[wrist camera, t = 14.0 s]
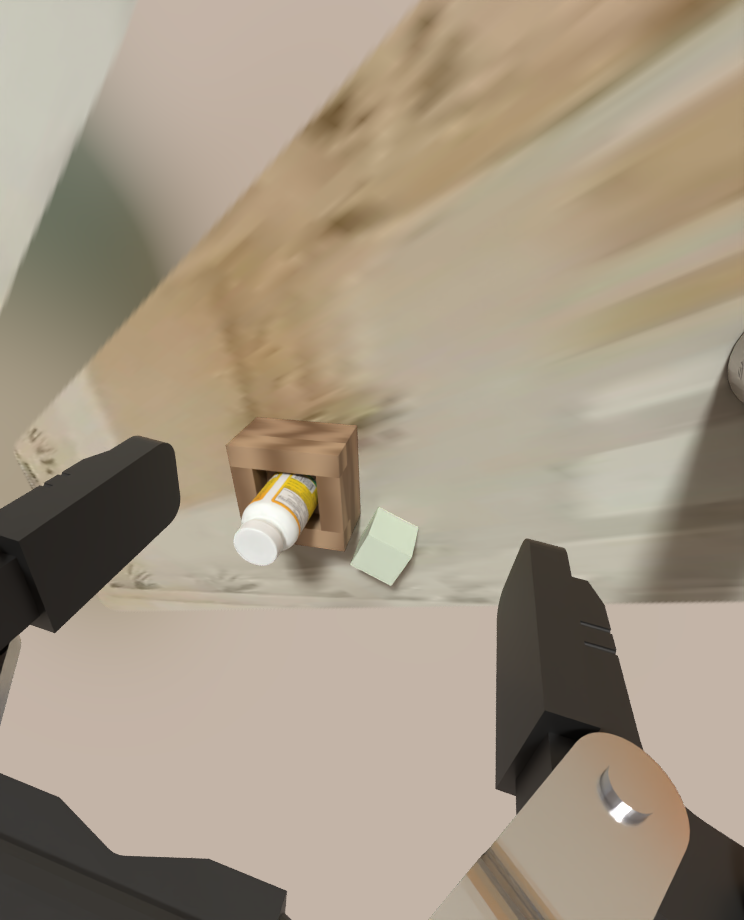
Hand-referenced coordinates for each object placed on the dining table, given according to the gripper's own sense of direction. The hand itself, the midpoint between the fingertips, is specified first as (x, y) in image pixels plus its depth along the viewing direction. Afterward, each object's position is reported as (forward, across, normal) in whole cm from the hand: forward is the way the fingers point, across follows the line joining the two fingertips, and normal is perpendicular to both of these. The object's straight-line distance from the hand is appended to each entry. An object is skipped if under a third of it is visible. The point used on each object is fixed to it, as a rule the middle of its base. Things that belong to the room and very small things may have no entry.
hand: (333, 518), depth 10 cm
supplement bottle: (+27, +11, +20) cm, 36 cm away
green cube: (+31, +2, +26) cm, 41 cm away
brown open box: (+31, +11, +20) cm, 39 cm away
